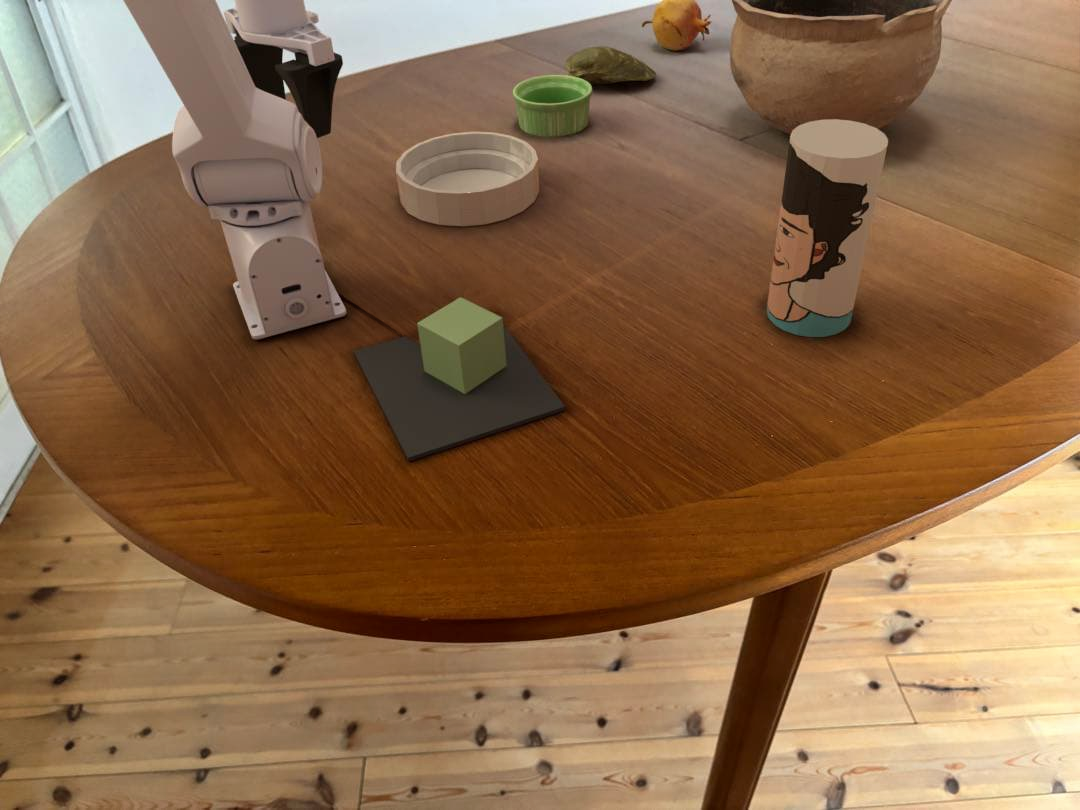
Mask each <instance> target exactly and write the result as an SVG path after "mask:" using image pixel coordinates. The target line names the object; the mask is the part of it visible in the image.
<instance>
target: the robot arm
mask: <svg viewBox="0 0 1080 810" xmlns="http://www.w3.org/2000/svg"><path fill="white" fill-rule="evenodd" d="M122 1H123V3H124V4H125V6H126V8H127V9H128V11H129V13H130V15H131V16H132V18H133V20H134V22H135V23H136V25H137V26H138V29H139V30H140V32H141V33H142V35H143V37H144V39H145V41H146V42H147V44H148V46H149V47H150V49H151V51H152V52H153V54H154V56H155V58H156V60H157V61H158V63H159V65H160V66H161V68H162V70H163V72H164V73H165V75H166V77H167V78H168V80H169V82H170V84H171V86H172V87H173V89H174V90H175V92H176V94H177V96H178V97H179V100H180V101H181V103H182V104H183V106H182V107H180V108H179V111H178V112H177V115H176V117H175V121H174V124H173V131H172V139H171V140H172V141H171V153H172V156H173V158H174V160H175V162H176V164H177V167H178V169H179V172H180V176H181V180H182V183H183V186H184V189H185V191H186V193H187V194H188V196H189V197H190V198H191V199H192V200H193V201H194V203H195V204H196V205H197V206H198V207H201V208H208V212H209V215H210V218H211V220H215V221H220V225H221V229H222V232H223V235H224V238H225V242H226V246H227V248H228V253H229V255H230V259H231V262H232V265H233V270H234V273H235V275H236V279H237V281H235V282H233V284H232V286H233V289H234V293H235V296H236V298H237V301H238V304H239V307H240V309H241V312H242V314H243V317H244V320H245V322H246V326H247V328H248V332H249V333H250V337H251V338H252V339H253V340H256V341H257V340H261V339H265V338H269V337H272V336H276V335H279V334H284V333H287V332H292V331H295V330H298V329H302V328H306V327H310V326H313V325H316V324H320V323H324V322H327V321H331V320H334V319H339V318H342V317H345V316H346V315H347V308H346V306H345V305H344V302H343V300H342V299H341V297H340V295H339V293H338V291H337V289H336V288H335V286H334V284H333V282H332V280H331V277H330V276H329V274H328V273H327V271H326V269H325V268H326V267H325V264H324V259H323V256H322V253H321V248H320V245H319V240H318V236H317V230H316V227H315V223H314V222H315V221H314V218H313V213H312V209H311V204H310V203H312V202H314V201H315V200H316V198H318V196H319V195H320V193H321V191H322V186H323V162H322V155H321V154H322V153H321V149H320V144H319V140H318V139H320V138H322V137H325V136H327V135H330V134H331V131H332V120H333V119H332V118H333V104H334V103H333V102H334V95H335V89H336V85H337V82H338V79H339V75H340V72H341V70H342V67H343V65H344V62H343V61H344V60H343V56H342V55H341V54H339V53H336V52H334V47H333V42H332V37H331V36H329V35H326V34H325V33H323V32H322V31H321V30H320V29H319V27H317V25H316V24H317V23H319V14H318V13H316V12H313V11H310V10H306V6H305V5H306V4H305V0H234V4H235V7H231V8H228V9H225V10H223V14H222V11H221V9H220V6H219V4H218V3H217V1H216V0H122ZM232 34H233V35H235V36H233V35H232ZM284 50H285V51H286V52H287V51H288V52H290V53H292V54H294V59H290V60H287V61H284V62H283V56H284V55H283V54H284ZM285 85H286V87H287V89H288V90H289V92H290V94H291V96H292V98H293V101H294V103H293V102H291V101H290V100H289V101H288V100H287V98H286V97H287V96H286V89H285Z"/></svg>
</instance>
